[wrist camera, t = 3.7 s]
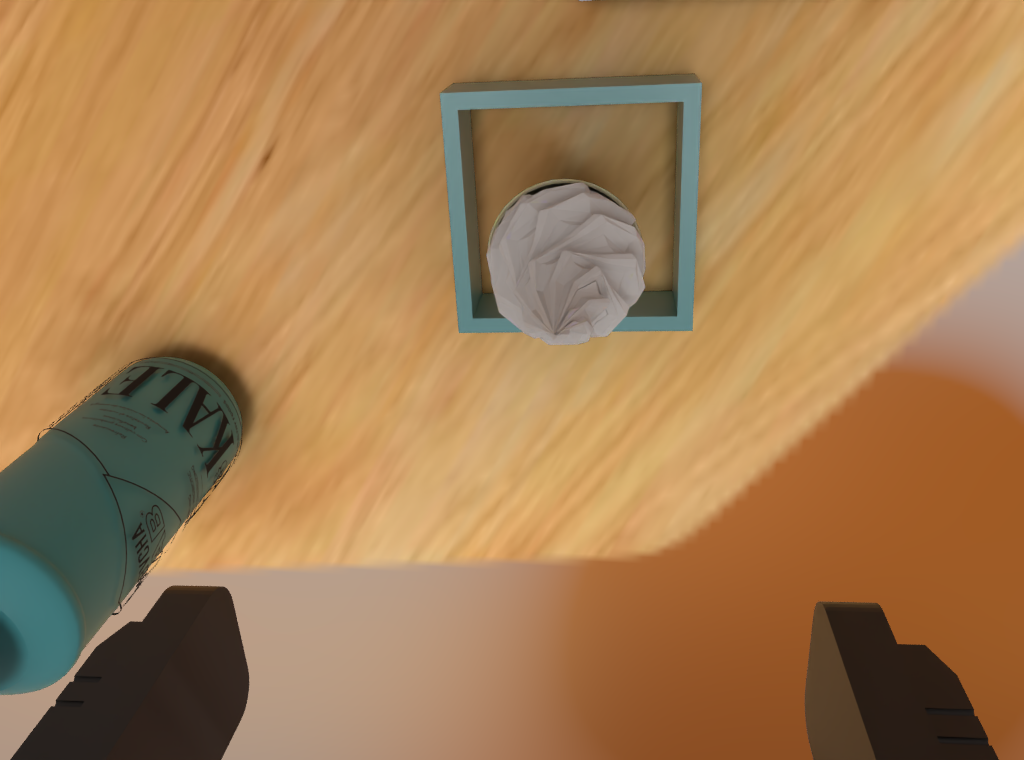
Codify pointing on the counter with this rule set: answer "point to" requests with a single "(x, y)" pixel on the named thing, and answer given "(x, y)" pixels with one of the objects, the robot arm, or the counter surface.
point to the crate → (460, 98)
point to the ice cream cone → (566, 261)
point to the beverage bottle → (103, 508)
